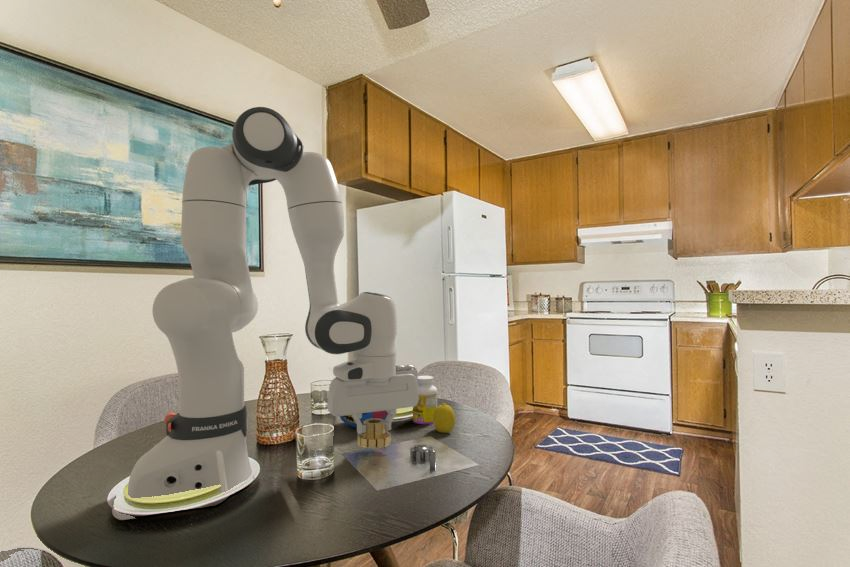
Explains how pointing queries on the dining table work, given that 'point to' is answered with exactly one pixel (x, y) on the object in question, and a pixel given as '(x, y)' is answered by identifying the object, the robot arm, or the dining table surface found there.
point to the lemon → (444, 418)
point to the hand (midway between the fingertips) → (374, 431)
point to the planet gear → (374, 434)
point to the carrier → (407, 462)
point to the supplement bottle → (425, 401)
